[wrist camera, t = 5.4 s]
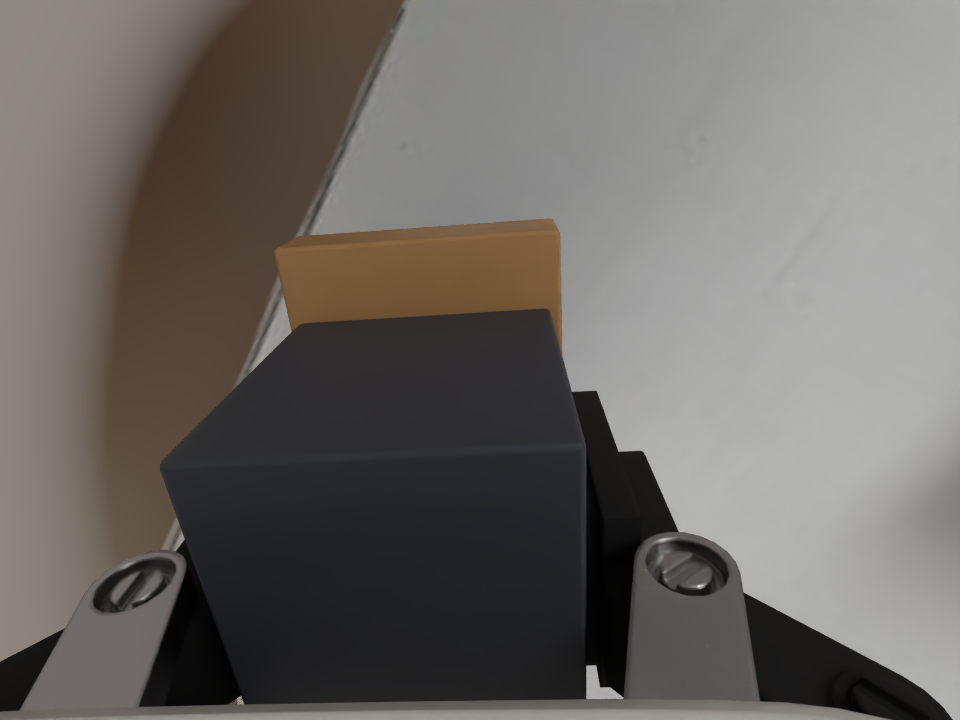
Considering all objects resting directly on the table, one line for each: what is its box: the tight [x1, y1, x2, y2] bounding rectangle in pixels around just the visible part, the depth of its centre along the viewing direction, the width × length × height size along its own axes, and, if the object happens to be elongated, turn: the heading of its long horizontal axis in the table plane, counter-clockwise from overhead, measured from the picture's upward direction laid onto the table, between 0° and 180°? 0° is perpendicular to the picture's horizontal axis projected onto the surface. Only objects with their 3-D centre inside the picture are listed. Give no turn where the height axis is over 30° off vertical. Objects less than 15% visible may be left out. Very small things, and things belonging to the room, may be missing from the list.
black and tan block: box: [160, 219, 586, 705], centre depth 10 cm, size 12×5×6 cm, turn 4°
